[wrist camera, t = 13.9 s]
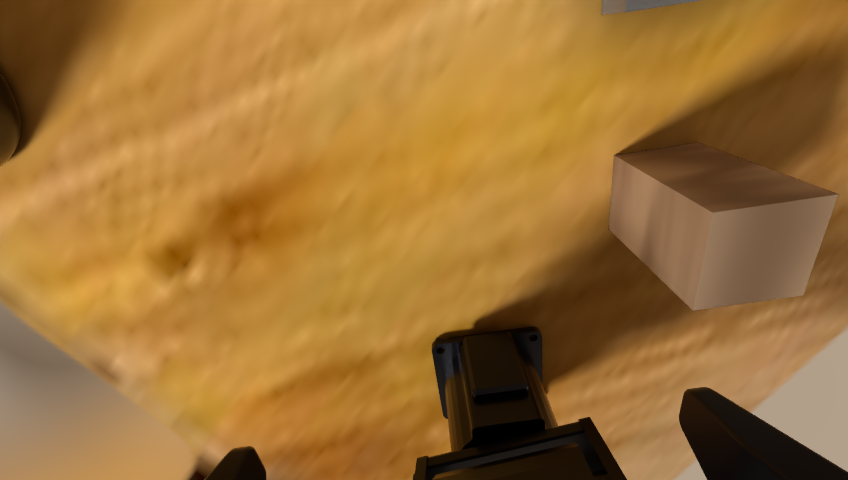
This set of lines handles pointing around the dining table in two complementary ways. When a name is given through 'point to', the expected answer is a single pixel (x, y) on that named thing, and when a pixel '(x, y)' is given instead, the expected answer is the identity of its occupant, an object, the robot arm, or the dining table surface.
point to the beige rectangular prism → (718, 224)
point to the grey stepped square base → (635, 5)
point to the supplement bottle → (8, 122)
